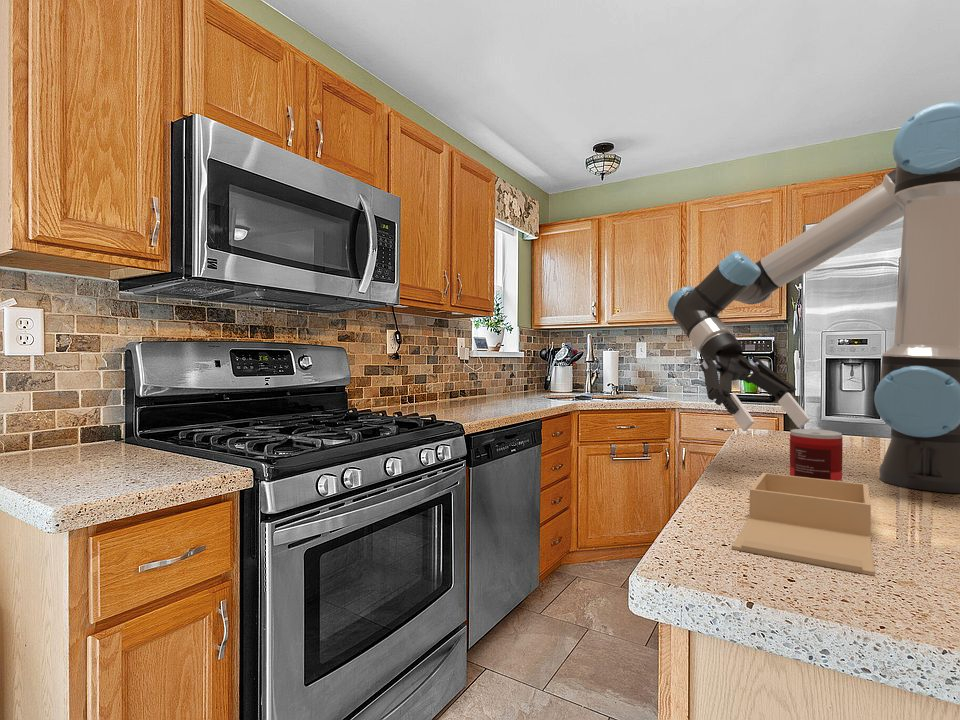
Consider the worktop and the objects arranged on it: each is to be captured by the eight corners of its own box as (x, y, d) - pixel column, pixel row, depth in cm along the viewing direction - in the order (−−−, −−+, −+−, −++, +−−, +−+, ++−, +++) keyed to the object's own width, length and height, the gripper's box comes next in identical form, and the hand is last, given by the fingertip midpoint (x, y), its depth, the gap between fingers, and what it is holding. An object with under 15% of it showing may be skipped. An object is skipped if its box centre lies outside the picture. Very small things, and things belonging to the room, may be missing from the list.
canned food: (826, 490, 96) (826, 429, 96) (852, 502, 88) (853, 435, 88) (781, 489, 97) (781, 428, 97) (803, 501, 89) (803, 434, 89)
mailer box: (762, 499, 90) (762, 472, 90) (867, 513, 82) (867, 484, 82) (731, 549, 66) (731, 512, 66) (874, 576, 58) (874, 534, 58)
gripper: (751, 357, 120) (813, 434, 106) (658, 356, 111) (712, 440, 97) (771, 332, 115) (839, 409, 101) (676, 329, 106) (736, 414, 92)
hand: (777, 425), depth 99 cm, fingers open, 13 cm apart
